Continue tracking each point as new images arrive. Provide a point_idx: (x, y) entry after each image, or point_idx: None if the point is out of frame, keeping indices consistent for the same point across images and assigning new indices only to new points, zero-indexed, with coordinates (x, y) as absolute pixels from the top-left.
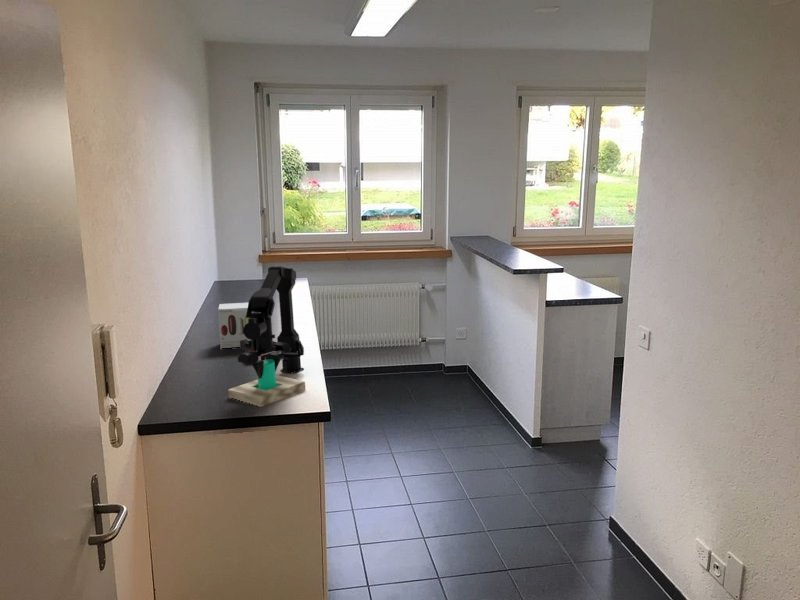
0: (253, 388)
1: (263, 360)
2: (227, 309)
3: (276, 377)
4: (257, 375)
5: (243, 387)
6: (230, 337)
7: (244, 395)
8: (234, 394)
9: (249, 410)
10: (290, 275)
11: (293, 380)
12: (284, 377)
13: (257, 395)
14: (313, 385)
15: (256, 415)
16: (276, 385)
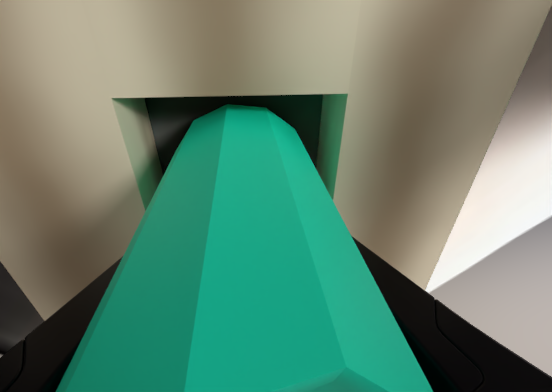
0: (104, 168)
1: (361, 390)
2: None
3: (464, 84)
4: (156, 197)
5: (18, 46)
6: None
7: None
8: None
9: (4, 288)
10: None
11: (420, 248)
12: (477, 147)
13: (58, 303)
14: (471, 244)
15: (16, 343)
16: (327, 186)
